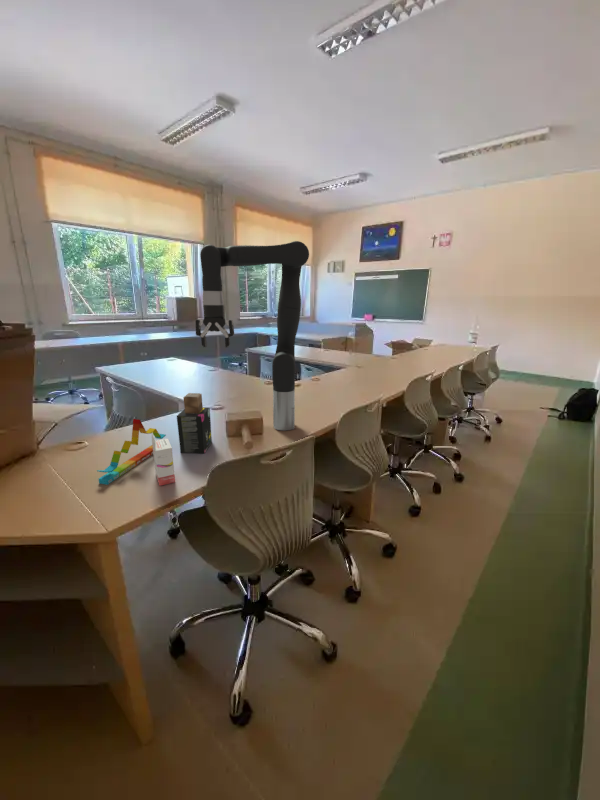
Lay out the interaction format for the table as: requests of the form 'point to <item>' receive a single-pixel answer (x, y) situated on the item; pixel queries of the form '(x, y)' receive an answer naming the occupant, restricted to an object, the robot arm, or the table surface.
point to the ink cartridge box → (163, 461)
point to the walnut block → (193, 403)
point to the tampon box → (194, 431)
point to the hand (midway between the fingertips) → (215, 347)
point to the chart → (129, 464)
